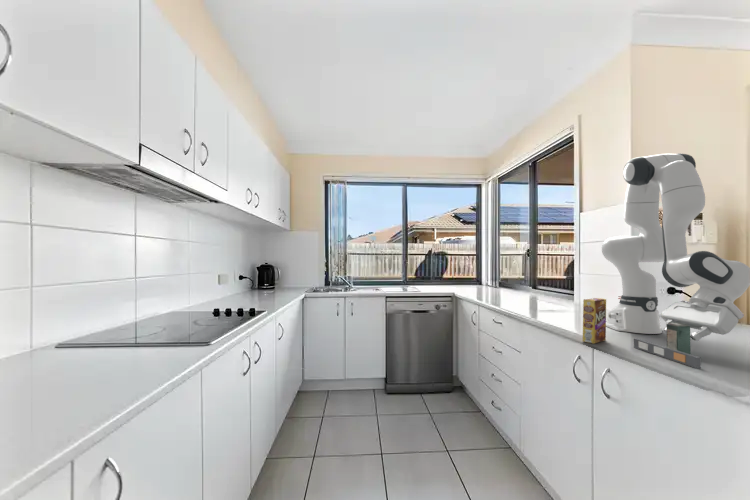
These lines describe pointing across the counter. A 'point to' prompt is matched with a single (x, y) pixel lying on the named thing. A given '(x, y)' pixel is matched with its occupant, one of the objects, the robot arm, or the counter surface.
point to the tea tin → (678, 337)
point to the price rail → (668, 353)
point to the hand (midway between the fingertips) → (679, 335)
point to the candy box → (594, 320)
